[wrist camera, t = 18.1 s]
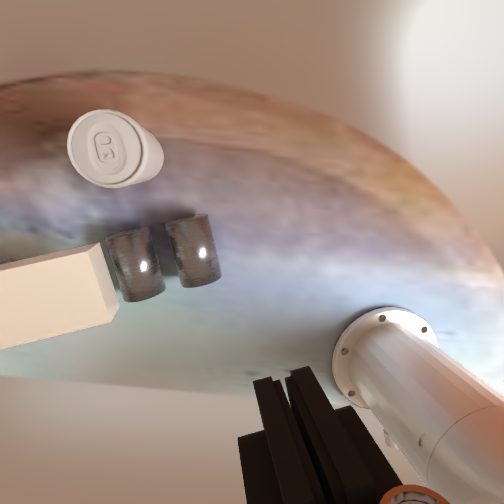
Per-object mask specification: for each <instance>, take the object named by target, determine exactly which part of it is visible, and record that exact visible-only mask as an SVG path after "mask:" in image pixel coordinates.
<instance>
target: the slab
mask: <svg viewBox="0 0 504 504" xmlns="http://www.w3.org/2000/svg"><path fill="white" fill-rule="evenodd" d="M119 307H120V305H119V302H118V298H117V295H116V292H115V289H114V286H113V283H112V280H111V277H110V274H109V271H108V267H107V264H106V261H105V258H104V255H103V252H102V249H101V246H100V243H99V242H98V243H94V244H89V245H85V246H80V247H76V248H71V249H67V250H63V251H58V252H54V253H49V254H45V255H41V256H36V257H32V258H27V259H23V260H19V261H14V262H10V263H5V264H1V265H0V350H1V349H5V348H9V347H13V346H17V345H21V344H26V343H30V342H34V341H38V340H42V339H46V338H50V337H54V336H58V335H62V334H66V333H70V332H74V331H78V330H82V329H86V328H90V327H94V326H98V325H102V324H106V323H110V322H111V321H112V320H113V318H114V316H115V314H116V312H117V311H118V309H119Z"/></svg>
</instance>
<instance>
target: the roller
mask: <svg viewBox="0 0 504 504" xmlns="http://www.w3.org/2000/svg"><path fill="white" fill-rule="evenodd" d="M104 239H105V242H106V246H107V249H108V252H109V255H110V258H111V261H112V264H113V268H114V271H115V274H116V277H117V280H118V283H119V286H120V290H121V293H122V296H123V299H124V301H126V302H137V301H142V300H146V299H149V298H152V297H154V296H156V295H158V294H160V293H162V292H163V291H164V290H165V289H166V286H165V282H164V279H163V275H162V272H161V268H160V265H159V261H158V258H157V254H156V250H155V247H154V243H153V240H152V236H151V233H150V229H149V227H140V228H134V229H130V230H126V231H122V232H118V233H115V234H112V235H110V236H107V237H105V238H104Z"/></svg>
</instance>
